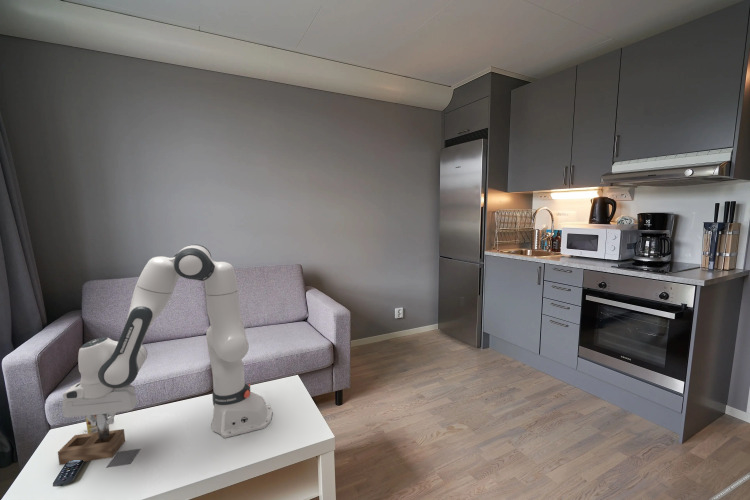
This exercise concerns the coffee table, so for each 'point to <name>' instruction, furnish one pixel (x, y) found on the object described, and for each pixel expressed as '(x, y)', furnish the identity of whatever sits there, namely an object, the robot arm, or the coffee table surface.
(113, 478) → the coffee table surface
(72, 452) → the socket block
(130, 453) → the mat
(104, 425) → the peg
